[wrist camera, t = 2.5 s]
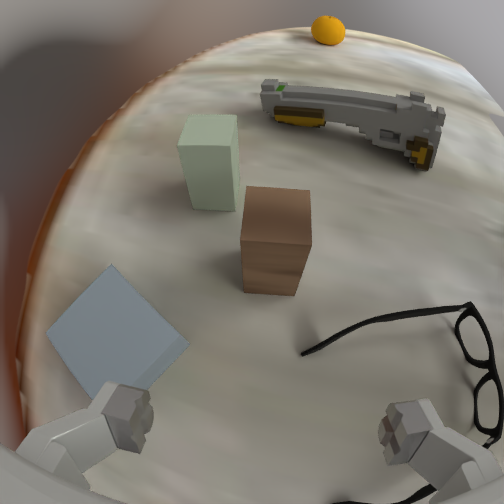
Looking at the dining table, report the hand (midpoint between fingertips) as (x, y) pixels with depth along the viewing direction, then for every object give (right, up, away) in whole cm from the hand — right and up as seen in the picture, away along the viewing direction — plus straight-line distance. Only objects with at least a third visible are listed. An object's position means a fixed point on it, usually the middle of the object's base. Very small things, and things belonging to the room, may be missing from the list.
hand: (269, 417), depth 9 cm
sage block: (-4, +12, +24) cm, 27 cm away
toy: (+13, +21, +29) cm, 38 cm away
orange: (+17, +55, +47) cm, 74 cm away
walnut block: (+1, +4, +19) cm, 19 cm away
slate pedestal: (-12, -3, +16) cm, 20 cm away
